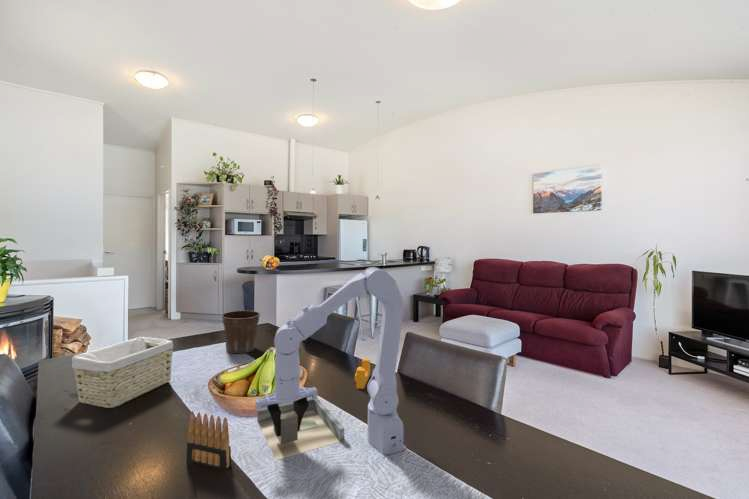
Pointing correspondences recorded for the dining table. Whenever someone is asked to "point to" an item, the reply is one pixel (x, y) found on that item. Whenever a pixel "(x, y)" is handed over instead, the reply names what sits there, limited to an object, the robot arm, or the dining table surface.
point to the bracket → (288, 428)
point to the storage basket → (122, 371)
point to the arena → (303, 429)
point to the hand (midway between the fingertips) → (287, 431)
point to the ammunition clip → (208, 442)
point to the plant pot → (240, 330)
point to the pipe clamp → (362, 374)
